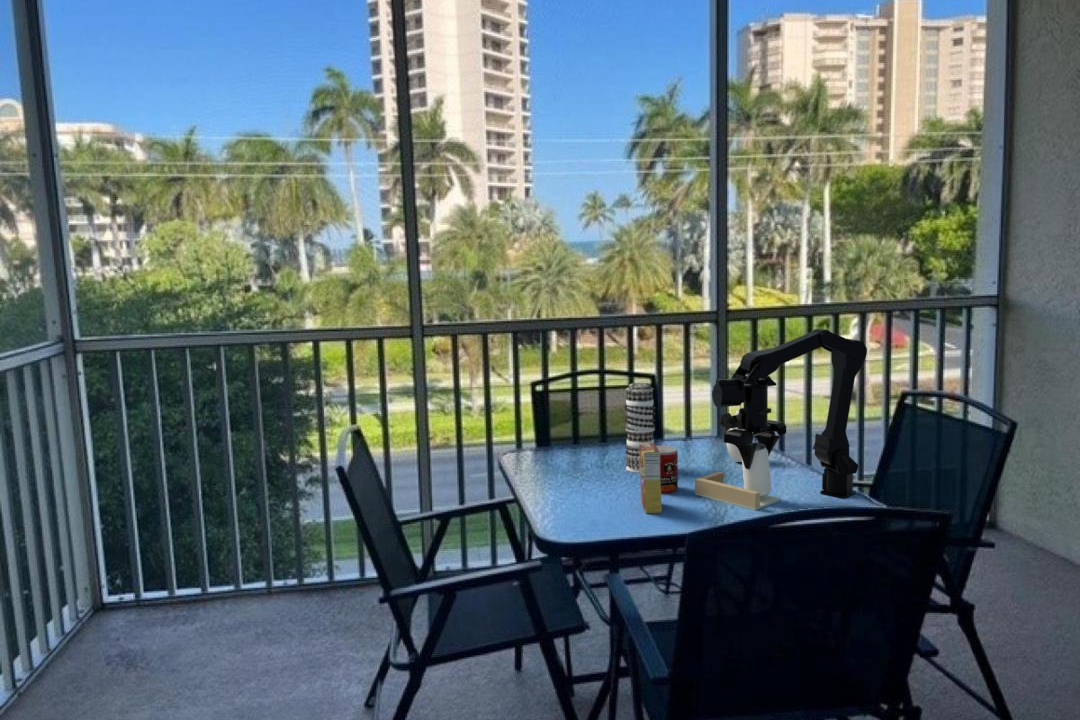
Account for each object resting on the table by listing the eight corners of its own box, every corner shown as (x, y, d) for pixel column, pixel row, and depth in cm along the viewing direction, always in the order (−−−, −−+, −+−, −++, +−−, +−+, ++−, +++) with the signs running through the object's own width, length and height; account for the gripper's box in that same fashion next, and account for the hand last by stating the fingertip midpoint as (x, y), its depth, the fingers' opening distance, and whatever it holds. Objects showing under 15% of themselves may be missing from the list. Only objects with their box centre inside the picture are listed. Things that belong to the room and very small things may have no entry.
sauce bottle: (754, 465, 229) (755, 404, 227) (727, 465, 230) (727, 404, 228) (752, 458, 236) (752, 399, 234) (725, 458, 238) (725, 399, 235)
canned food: (655, 495, 203) (655, 453, 202) (643, 486, 211) (643, 446, 209) (683, 492, 205) (682, 450, 204) (670, 483, 213) (669, 444, 211)
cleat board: (780, 500, 196) (780, 484, 195) (754, 510, 189) (755, 493, 188) (721, 486, 210) (721, 471, 209) (695, 494, 202) (695, 479, 202)
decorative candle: (621, 472, 226) (620, 386, 223) (628, 463, 234) (627, 381, 231) (653, 474, 223) (652, 387, 220) (658, 465, 232) (658, 381, 228)
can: (742, 496, 195) (738, 450, 192) (747, 486, 201) (743, 442, 198) (769, 497, 192) (765, 451, 190) (773, 487, 198) (769, 442, 195)
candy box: (639, 502, 197) (638, 443, 195) (656, 502, 197) (656, 442, 195) (643, 514, 189) (643, 451, 187) (661, 513, 188) (661, 451, 187)
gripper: (749, 395, 205) (749, 454, 207) (705, 405, 193) (705, 467, 195) (787, 400, 196) (787, 461, 198) (743, 411, 184) (743, 476, 186)
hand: (755, 466), depth 195 cm, fingers closed on can, 6 cm apart
